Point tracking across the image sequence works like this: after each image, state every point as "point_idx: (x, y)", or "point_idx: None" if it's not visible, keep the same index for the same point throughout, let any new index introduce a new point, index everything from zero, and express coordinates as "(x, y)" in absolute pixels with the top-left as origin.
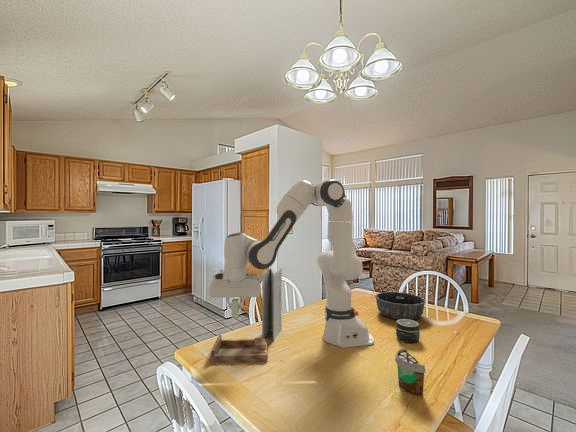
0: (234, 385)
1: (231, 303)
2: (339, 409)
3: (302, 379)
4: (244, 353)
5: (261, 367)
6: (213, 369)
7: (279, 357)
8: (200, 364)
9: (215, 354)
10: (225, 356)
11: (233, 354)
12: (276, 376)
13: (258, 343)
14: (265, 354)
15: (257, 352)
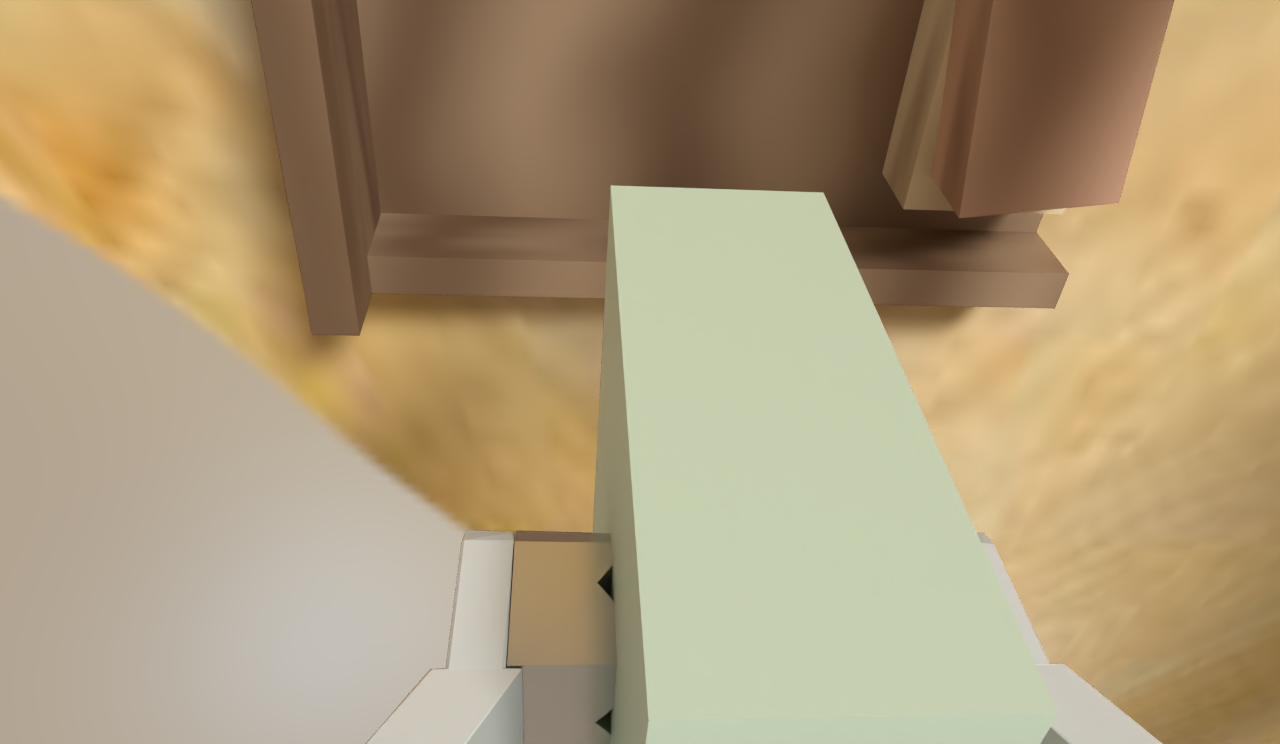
0: None
1: (556, 719)
2: (1253, 712)
3: (1217, 502)
4: (762, 45)
5: (927, 331)
6: (410, 337)
7: (1205, 142)
8: (209, 234)
9: (369, 256)
10: (518, 291)
11: None
12: (1025, 462)
13: (1016, 165)
14: (1034, 294)
15: (947, 207)
